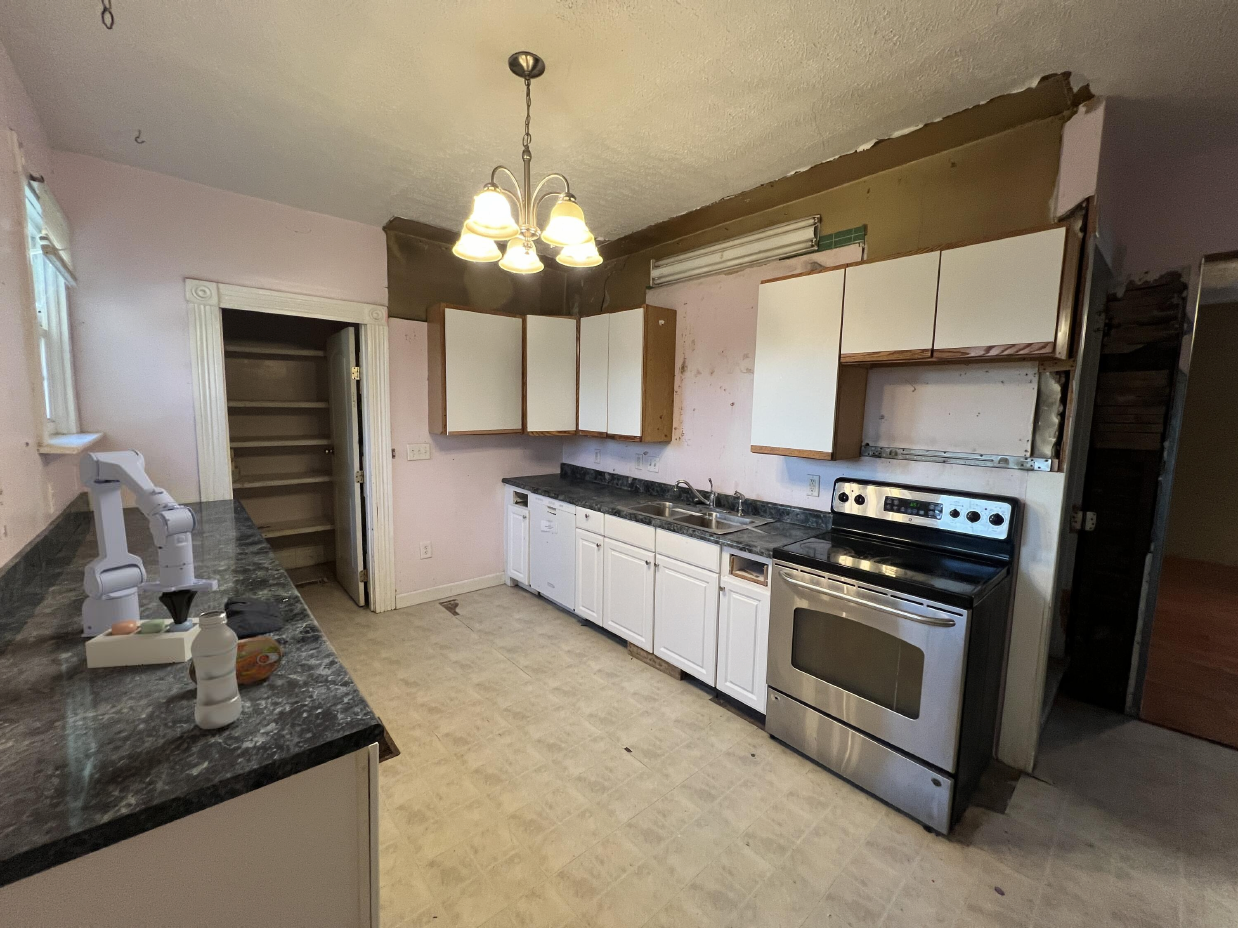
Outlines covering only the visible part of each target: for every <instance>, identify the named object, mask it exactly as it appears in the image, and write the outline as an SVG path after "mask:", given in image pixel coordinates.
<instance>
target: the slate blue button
mask: <svg viewBox="0 0 1238 928" xmlns="http://www.w3.org/2000/svg"><path fill="white" fill-rule="evenodd" d="M169 628H170V632H187V631H189V630H190V629H191V628H193V620H192V619H187V621H186V622H184V623H183V624H175V623H174V622H171V623H170V624H169Z"/></svg>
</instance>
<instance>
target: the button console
mask: <svg viewBox="0 0 1238 928" xmlns="http://www.w3.org/2000/svg"><path fill="white" fill-rule="evenodd" d="M187 619H192V620H193V628H191V629H190V630H189V631H187V632H170V628H169V624H170V623H171V622H174V621H173V618H164V620H165V629H164V630H162V631H161V632H159V633H151V634H141V627H140V625H141V624H142V623H143V622H146V621H149V620H150V619H140V620H139V621H136V626H137V630H136V631H134V632H133V633H131V634H129V635H114V636H112V631H111V629H109V630H108V631H106V632H104V633H102V634H100V635H99V636H94V637H93V638H92V639H90V640H88V641H86V642H85V643H84V645H85V651H86V652H85V654H86V663H87V665H86V666H87V669H93V668H108V667H124V666H126V665H127V666H138V665H139V666H140V665H141V666H143V665H155V664H156V665H157V664H170V663H171V664H172V663H173V662H175V663H187V661H188V660H190V659H192V654H191V645H192V642H193V640H194V639H195V637H196V636H197V634H198V633H199V632H200V630H201V628H199V617H188V618H187ZM142 664H143V665H142Z"/></svg>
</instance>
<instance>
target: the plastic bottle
mask: <svg viewBox="0 0 1238 928" xmlns="http://www.w3.org/2000/svg"><path fill="white" fill-rule="evenodd" d="M198 618H199V628H201V630H200V632H199V633H198V634H197V636H196V637H195V639H194V640H193V642H192V645H191V654H192V657H191V659H192V661H193V662H194V665H195V670H196V677H197V685H196V687H197V688H196V704H195V706H194V714H193V715H194V720H195V722H196V723H195V724H196V726H198V727H200V728H201V729H203V730H214V729H219V728H223V727H225V726H228V725H230V724H232V723H234V722H235V721H236V720H237V719H238V718H239V716H240V715H241V712H242V706H243V702H242V698H241V694H240V691H239V687H238V684H237V680H236V670H235V669H236V655H237V647H238V640H239V638H238V637H237V635H236V633H235V632H234V631H233V630H232V629H230V628H229V627H228V626H226V623H227V618H226V612H225V611H224V609H223V610H222V609H220V610H219V609H218V610H217V609H215V610H210V611H207V612H203V613H201V614H199V615H198Z"/></svg>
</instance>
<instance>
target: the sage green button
mask: <svg viewBox="0 0 1238 928" xmlns="http://www.w3.org/2000/svg"><path fill="white" fill-rule="evenodd" d="M164 619H165V618H164ZM164 619H163V618H156V619H155V618H153V619H148V620H149V621H146V622H143V623H142V624H141V625H140V627H141V634H151V633H159V632H161V631H162V630H164V629H165V620H164Z"/></svg>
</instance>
